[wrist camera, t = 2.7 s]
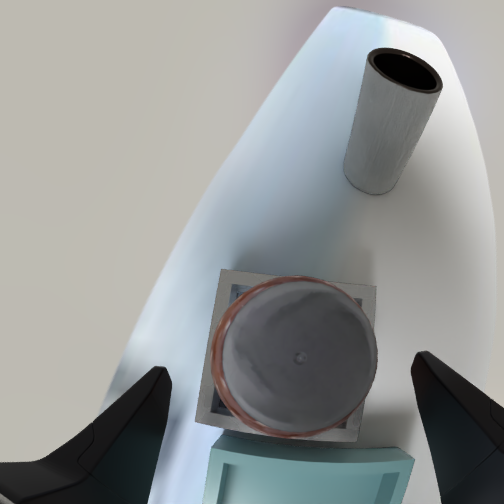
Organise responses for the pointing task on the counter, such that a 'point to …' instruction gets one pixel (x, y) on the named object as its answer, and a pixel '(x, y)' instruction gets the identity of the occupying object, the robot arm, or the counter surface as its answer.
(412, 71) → the grey hollow cylinder
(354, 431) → the collar
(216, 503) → the bin
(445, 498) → the robot arm
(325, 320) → the supplement bottle
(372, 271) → the counter surface
